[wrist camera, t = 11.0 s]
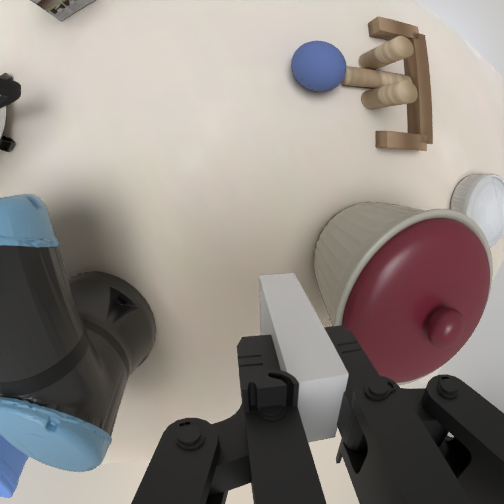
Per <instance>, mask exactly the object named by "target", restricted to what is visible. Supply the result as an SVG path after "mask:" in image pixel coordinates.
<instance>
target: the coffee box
mask: <svg viewBox="0 0 504 504" xmlns="http://www.w3.org/2000/svg"><path fill="white" fill-rule="evenodd" d="M31 1H32V2H34V3H35V4H37V5H38V6H40V7H41V8H43V9H44V10H46V11H47V12H49V13H50V14H52V15H53V16H54V17H56V18H57V19H59V20H60V21H62V20H64V19H65V18H67V17H69V16H70V15H72V14H73V13H75V12H76V11H78V10H80V9H81V8H83V7H85V6H86V5H88V4H90V3H91V2H93V1H95V0H31Z"/></svg>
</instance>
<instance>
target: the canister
mask: <svg viewBox="0 0 504 504" xmlns="http://www.w3.org/2000/svg"><path fill="white" fill-rule="evenodd" d="M316 245H317V246H316V249H315V252H314V253H315V258H314V265H315V267H314V271H315V274H316V279H317V283H318V286H319V289H320V292H321V295H322V298H323V300H324V303H325V306H326V308H327V311H328V313H329V316H330V319H331V321H332V324H333V326H339V325H342V326H343V327H345V328H346V329H348V330H349V331H351V332H352V333H353V335H354V336H355V338H356V339H357V341H358V343H359V344H360V345H361V347H362V350H364V352H365V353H366V355H367V356H368V358H369V359H370V361H371V363H372V364H373V366H374V367H375V369H376V370H377V372H378V374H379V375H380V376H384V377H387V378H389V379H391V380H394V381H395V382H396V383H397V384H398V385H403V384H407V383H410V382H413V381H416V380H418V379H420V378H423V377H425V376H426V375H428V374H430V373H432V372H433V371H435V370H436V369H438V368H439V367H441V366H442V365H444V364H445V363H446V362H447V361H449V360H450V359H451V358H452V357H453V356H454V355H455V354H456V353H457V352H458V351H459V350H460V349H461V348H462V347H463V345H464V344H465V343H466V342H467V340H468V339H469V338H470V336H471V335H472V333H473V332H474V330H475V328H476V327H477V325H478V323H479V321H480V319H481V316H482V314H483V312H484V309H485V307H486V304H487V301H488V297H489V294H490V290H491V284H492V274H493V265H492V256H491V251H490V247H489V244H488V241H487V239H486V237H485V235H484V233H483V231H482V230H481V228H480V227H479V226H478V225H477V224H476V223H475V222H474V221H473V220H472V219H471V218H469V217H468V216H466V215H464V214H462V213H460V212H457V211H454V210H449V209H432V210H427V211H424V210H419V209H414V208H409V207H405V206H399V205H394V204H387V203H379V202H376V203H374V202H366V203H358V204H357V205H353V206H350V207H349V208H347V209H344V210H342V211H341V212H340V213H339V214H336V215H335V217H334V218H333V219H332V220H330V221H329V223H328V224H327V226H325V227H324V230H323V232H322V233H321V234H320V237H319V240H318V242H317V244H316Z"/></svg>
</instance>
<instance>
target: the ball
mask: <svg viewBox="0 0 504 504" xmlns="http://www.w3.org/2000/svg"><path fill="white" fill-rule="evenodd" d="M291 67H292V72H293V74H294V77H295V78H296V80H297V81H298V82H299V83H300V84H301V85H302V86H304V87H305V88H307V89H309V90H312V91H317V92H324V91H329V90H332V89H334V88H335V87H337V86H338V85H339V84H340V83H341V82H342V81H343V79H344V77H345V74H346V61H345V59H344V56H343V55H342V53H341V52H340V51H339V50H338V49H337V48H336V47H335V46H333V45H331V44H329V43H327V42H323V41H311V42H308V43H305V44H303V45H302V46H300V47H299V48H298V49H297V50H296V52H295V53H294V55H293V58H292V63H291Z"/></svg>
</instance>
